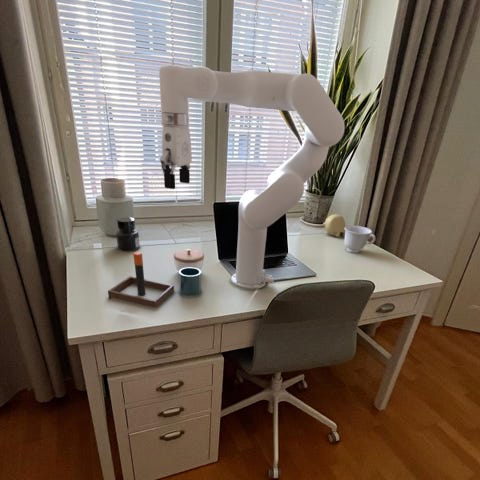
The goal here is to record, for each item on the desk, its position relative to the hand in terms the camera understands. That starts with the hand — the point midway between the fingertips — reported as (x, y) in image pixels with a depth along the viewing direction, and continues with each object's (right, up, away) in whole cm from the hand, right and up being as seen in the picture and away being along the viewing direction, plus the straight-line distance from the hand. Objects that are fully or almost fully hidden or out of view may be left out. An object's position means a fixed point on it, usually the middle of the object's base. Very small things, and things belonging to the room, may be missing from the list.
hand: (177, 185), depth 105 cm
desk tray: (-13, -33, +7) cm, 36 cm away
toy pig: (+67, +3, +73) cm, 99 cm away
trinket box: (0, -24, +23) cm, 33 cm away
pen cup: (+2, -32, +11) cm, 33 cm away
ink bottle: (-28, -10, +41) cm, 51 cm away
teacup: (+72, -10, +54) cm, 91 cm away
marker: (-13, -33, +6) cm, 36 cm away
